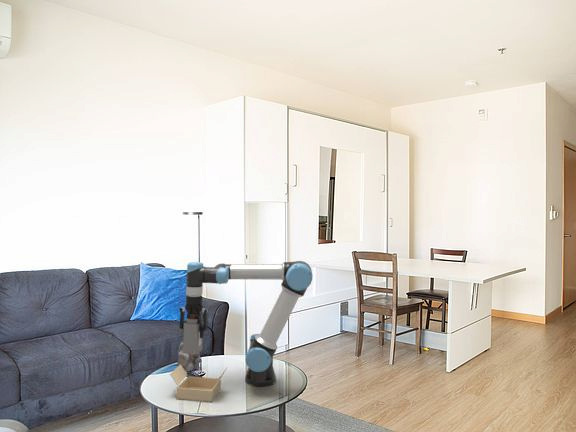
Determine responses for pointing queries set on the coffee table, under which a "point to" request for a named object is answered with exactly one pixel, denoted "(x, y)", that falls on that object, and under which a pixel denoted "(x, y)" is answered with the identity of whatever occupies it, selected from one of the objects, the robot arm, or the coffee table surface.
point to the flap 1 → (178, 374)
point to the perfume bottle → (192, 336)
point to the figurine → (188, 359)
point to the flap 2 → (219, 378)
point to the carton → (198, 389)
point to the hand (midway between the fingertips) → (193, 344)
